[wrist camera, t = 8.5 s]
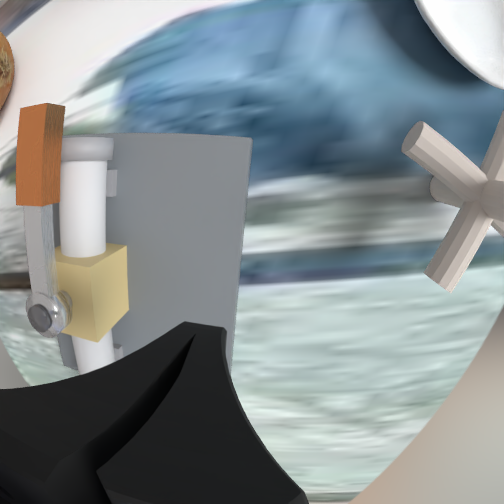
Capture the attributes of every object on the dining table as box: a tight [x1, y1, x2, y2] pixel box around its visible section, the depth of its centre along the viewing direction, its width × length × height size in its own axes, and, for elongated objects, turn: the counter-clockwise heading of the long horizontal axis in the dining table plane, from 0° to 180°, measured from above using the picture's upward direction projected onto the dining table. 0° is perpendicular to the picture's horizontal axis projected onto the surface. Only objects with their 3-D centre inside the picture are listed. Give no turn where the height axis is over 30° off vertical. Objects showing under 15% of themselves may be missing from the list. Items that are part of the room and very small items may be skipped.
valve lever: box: [16, 103, 72, 338], centre depth 12 cm, size 11×2×2 cm, turn 175°
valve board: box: [53, 133, 253, 376], centre depth 17 cm, size 18×14×6 cm
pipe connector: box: [401, 110, 504, 293], centre depth 12 cm, size 10×10×10 cm
